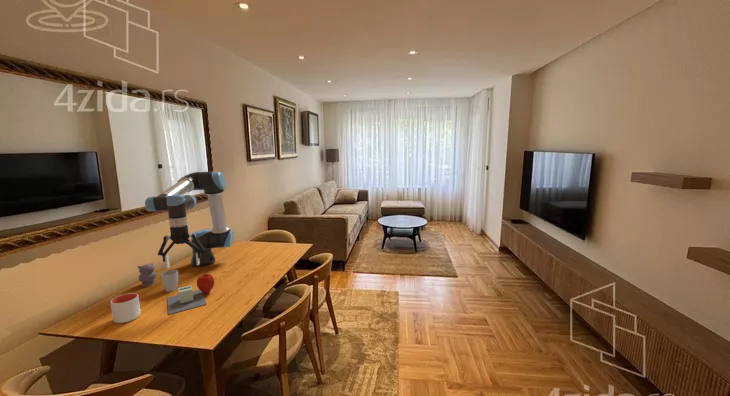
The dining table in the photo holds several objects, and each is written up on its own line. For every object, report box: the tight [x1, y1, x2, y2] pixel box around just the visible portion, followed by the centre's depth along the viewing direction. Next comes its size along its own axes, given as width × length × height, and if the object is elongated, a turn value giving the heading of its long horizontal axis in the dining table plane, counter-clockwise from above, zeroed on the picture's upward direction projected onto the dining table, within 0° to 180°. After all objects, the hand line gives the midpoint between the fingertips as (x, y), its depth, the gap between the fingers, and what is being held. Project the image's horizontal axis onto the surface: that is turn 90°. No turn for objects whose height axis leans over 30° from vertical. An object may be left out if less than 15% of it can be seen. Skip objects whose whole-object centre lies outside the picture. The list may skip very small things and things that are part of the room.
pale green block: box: [177, 284, 194, 304], centre depth 151 cm, size 6×6×7 cm
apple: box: [196, 273, 215, 295], centre depth 160 cm, size 9×8×11 cm
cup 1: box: [109, 292, 141, 324], centre depth 136 cm, size 10×10×10 cm
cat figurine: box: [137, 262, 157, 287], centre depth 172 cm, size 8×8×12 cm
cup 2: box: [160, 269, 179, 293], centre depth 165 cm, size 8×8×10 cm
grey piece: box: [167, 289, 207, 316], centre depth 151 cm, size 20×16×5 cm
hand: (183, 266), depth 150 cm, fingers open, 13 cm apart
